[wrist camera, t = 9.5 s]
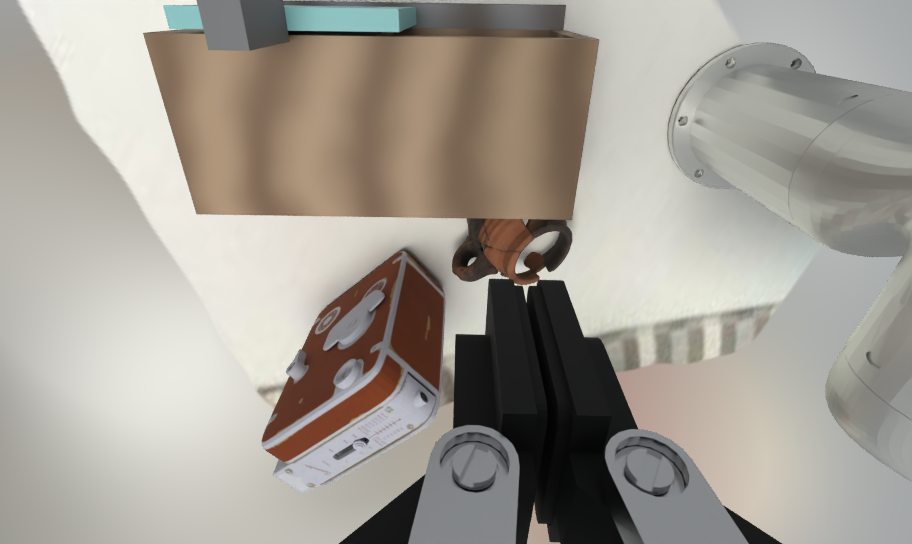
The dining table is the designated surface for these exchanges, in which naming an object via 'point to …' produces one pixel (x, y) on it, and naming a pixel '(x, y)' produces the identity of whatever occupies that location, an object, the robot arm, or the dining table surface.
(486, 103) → the cabinet
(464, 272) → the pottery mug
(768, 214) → the dining table surface
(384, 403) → the cine camera
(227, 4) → the door
